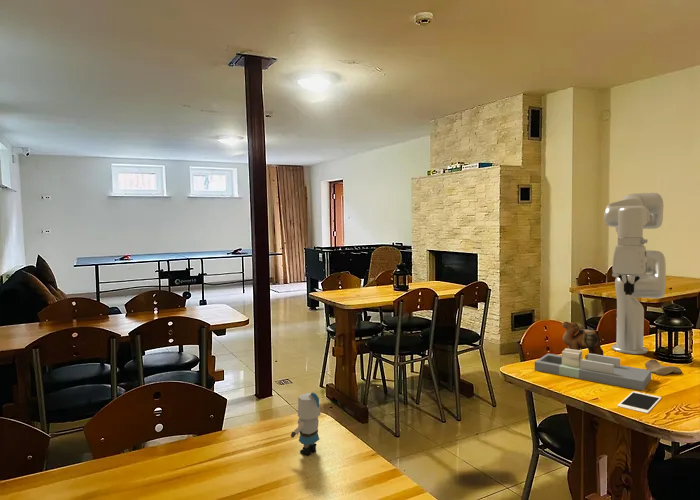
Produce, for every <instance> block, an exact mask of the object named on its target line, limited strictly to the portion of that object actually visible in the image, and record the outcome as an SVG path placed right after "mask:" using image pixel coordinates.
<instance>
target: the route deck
mask: <svg viewBox="0 0 700 500" xmlns="http://www.w3.org/2000/svg"><path fill="white" fill-rule="evenodd" d="M587 355H588V359H586V358H585V359H584V358H582V359H581V363H580V366H579V367H575V366H569V365H563V364H562V354H561V355H560V354H554V353H546V354H545V355H543V356H542V357H540V358H538V359H536V360H535V361H534V371H539V372H543V373H549V374H554V375H559V376H564V377H568V376H569V377H570V378H574V377H575V379H579V378H580V380H585V381H590V382H596V383H600V384H606V385H610V386H611V385H612V386H616V387H621V388H626V389H632V390H637V391H645V389H646V387H647V385H649V383H650V381H651V380H652V373H651V370H647V368H646V369H645V368H639V367H633V366H627V365H621V358H620V357H614V356H608V355H604V354H603V355H597V354H590V353H589V352H588V354H587Z"/></svg>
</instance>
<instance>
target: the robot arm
mask: <svg viewBox="0 0 700 500" xmlns="http://www.w3.org/2000/svg"><path fill="white" fill-rule="evenodd" d="M603 213H604V214H603V221H604V224H605V225H606V226H607V227H610V228H615V232H616V234H617V245H616V246H615V247H614V252H613V256H612V257H613V258H612V265H611V266H612V274H611V276H612V277H613V278H615V280H614V287H615V288H614V289H615V293H616V294H615V296H616V340H615V341H616V343H614V344H613V345H612V346H611V349H612V350H613V351H616V352H619V353H622V354H629V355H645V354H647V353H648V352H649V351H648V348H647V347H645V346H644V326H645V325H644V323H645V322H644V321H645V319H644V318H645V308H644V306H643V304H642V303H641V302H640V301H639V300H638V299H642V298H643V299H645V298H646V299H662V298H663V297H664V296H665V295H666V289H667V279H666V278H667V273H666V257H665V255H664V253H663V252H662V251H659V250H650V249H649V250H647V248H646V246H645V244H648V243H649V242H648V239H647V238H646V239H645V238H644V237H643V236H644V230H653V229H654V230H655V229H659V228H660V227H662V224H663V219H664V199H663V198H662V196H661V195H660V194H659V193H657V192H643V193H642V192H641V193H640V192H639V193H636V192H635V193H634V192H633V193H628V194H626V195H624V197H622V199H621V200H618V201H614V202H611V203H608V204H607V205H606V207H605V210H604V212H603Z"/></svg>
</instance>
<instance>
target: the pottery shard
mask: <svg viewBox="0 0 700 500" xmlns="http://www.w3.org/2000/svg"><path fill="white" fill-rule="evenodd" d="M644 366H645V368H646V370H651V374H653V373H654V375H658V376H666V375H668V374H671V373H674V374H681V373H683V370H681V369H682V368H680V367H678V366H672V365H671V366H670V365H669V366H666V365H662V364H661V363H660V362H659V361H658V360H657V359H653V358H652V359H649V360H647V361H646V362H645V363H644Z"/></svg>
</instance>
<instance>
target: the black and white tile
mask: <svg viewBox="0 0 700 500" xmlns="http://www.w3.org/2000/svg"><path fill="white" fill-rule="evenodd" d="M660 400H662V396H658V395H654V394H653V395H652V394H648V393H643V392H639V391H633V390H632V391H631V393H629V394H628V395H627V396H626V397H625V398H623V399H622V400H621V401H620V402H619V403H618V404H617V405H616V406H617V407H619V408H621V409H622V408H623V409H626V410H629V411H630V410H631V411H634V412H638V413H643V414H649V413H650V412H651V411H652V410H653V408H654V407H655V406H656V405H657V404H658V403H659V402H661V401H660Z"/></svg>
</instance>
